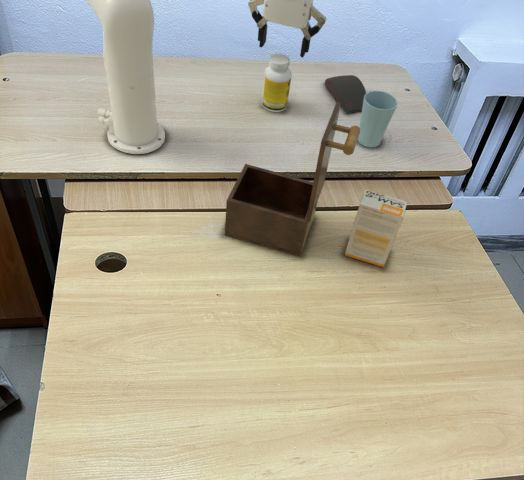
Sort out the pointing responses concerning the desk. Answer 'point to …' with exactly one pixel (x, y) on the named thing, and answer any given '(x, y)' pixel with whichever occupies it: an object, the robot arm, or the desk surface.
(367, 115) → the cup
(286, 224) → the chest
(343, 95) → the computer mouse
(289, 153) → the desk surface
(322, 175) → the lid
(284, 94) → the pill bottle
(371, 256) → the supplement box
